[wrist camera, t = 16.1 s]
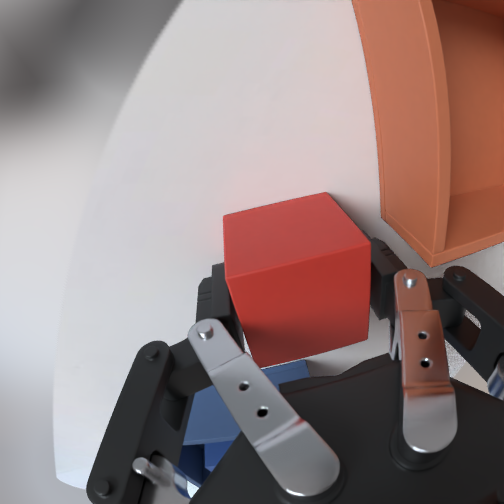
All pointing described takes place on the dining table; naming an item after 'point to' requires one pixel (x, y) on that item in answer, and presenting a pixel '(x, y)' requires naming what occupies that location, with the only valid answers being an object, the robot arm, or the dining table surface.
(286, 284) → the red block
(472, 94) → the terracotta bin
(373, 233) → the dining table surface
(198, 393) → the blue bin
